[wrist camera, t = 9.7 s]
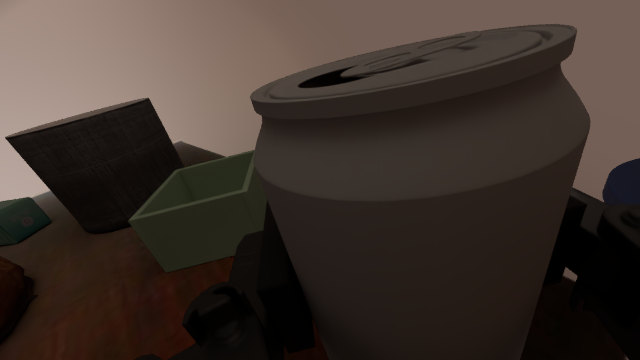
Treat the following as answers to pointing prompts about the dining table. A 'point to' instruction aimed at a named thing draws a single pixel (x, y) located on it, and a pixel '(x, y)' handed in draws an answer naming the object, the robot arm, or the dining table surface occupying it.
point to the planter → (101, 161)
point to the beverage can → (425, 189)
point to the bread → (12, 294)
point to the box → (20, 220)
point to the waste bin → (202, 212)
